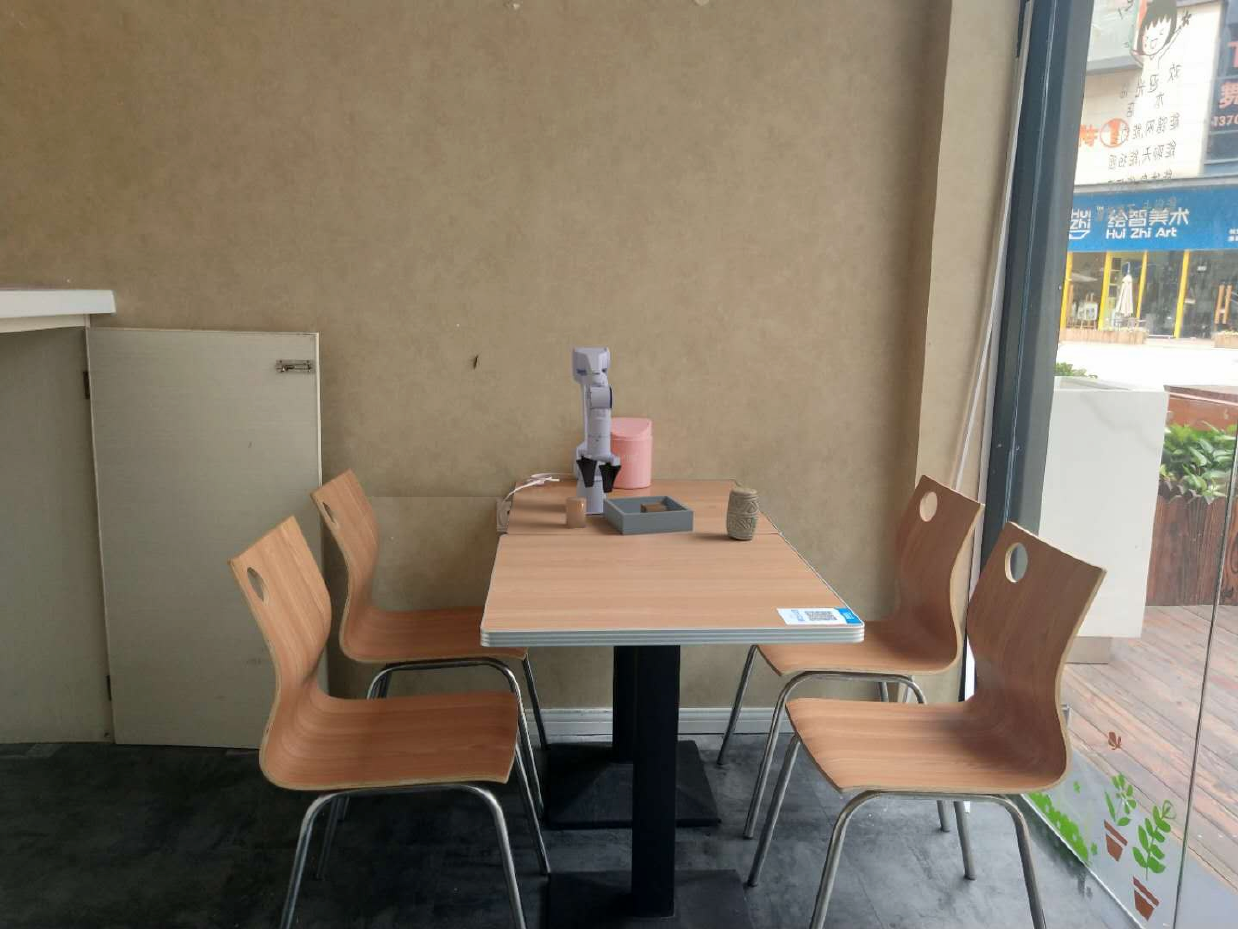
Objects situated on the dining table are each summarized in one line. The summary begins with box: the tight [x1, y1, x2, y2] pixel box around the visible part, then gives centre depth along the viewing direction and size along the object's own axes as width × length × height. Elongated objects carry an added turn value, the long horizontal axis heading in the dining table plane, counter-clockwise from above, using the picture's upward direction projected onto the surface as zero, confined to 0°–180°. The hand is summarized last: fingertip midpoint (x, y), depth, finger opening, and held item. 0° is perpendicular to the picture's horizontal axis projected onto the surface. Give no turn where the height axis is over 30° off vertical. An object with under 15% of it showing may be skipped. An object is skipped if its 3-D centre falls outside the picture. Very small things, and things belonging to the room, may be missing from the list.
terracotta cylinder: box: [565, 496, 587, 529], centre depth 225 cm, size 5×5×7 cm
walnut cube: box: [640, 503, 666, 513], centre depth 224 cm, size 5×5×5 cm
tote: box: [602, 494, 694, 536], centre depth 228 cm, size 18×18×5 cm
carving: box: [725, 486, 759, 541], centre depth 216 cm, size 6×8×12 cm
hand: (598, 489), depth 224 cm, fingers open, 7 cm apart
